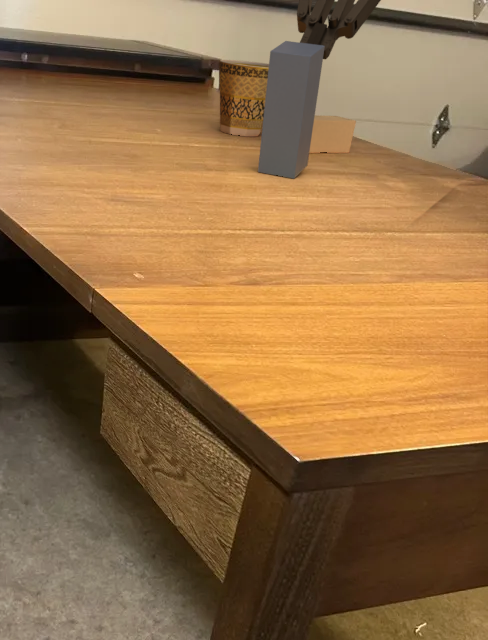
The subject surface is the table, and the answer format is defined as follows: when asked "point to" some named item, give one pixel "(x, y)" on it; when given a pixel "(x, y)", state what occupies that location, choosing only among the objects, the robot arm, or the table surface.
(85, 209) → the table surface
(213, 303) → the table surface
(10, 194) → the table surface
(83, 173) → the table surface
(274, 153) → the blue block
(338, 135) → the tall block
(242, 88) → the ceramic cup
